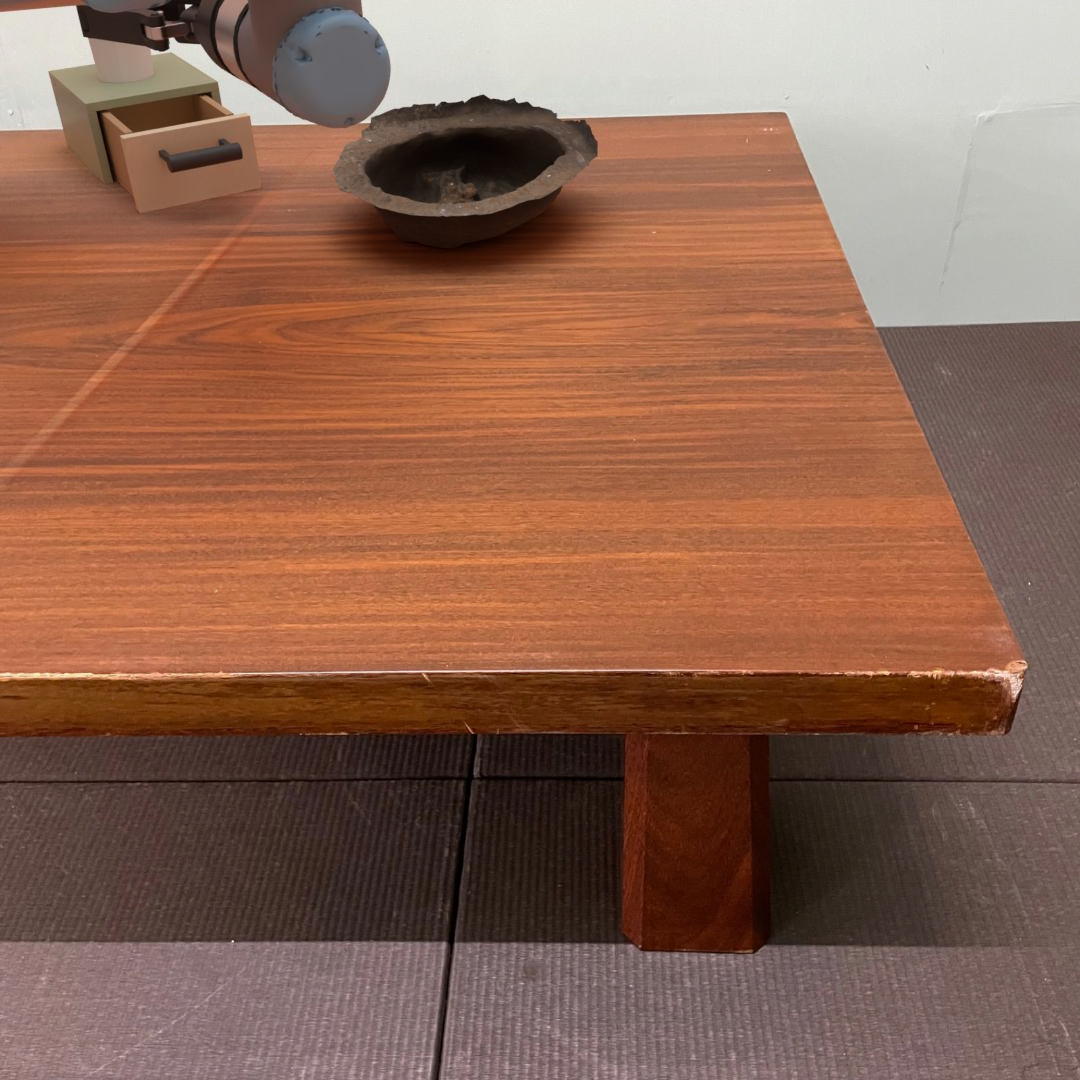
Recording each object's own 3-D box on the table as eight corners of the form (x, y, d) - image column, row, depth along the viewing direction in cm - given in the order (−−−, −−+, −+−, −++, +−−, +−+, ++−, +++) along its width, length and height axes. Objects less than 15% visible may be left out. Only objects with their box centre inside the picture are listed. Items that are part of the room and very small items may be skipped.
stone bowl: (549, 166, 127) (550, 79, 121) (626, 268, 108) (633, 172, 102) (321, 189, 121) (311, 99, 115) (362, 301, 103) (353, 201, 97)
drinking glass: (98, 70, 127) (74, -31, 121) (160, 66, 128) (140, -34, 122) (91, 86, 122) (66, -19, 116) (156, 81, 123) (135, -23, 117)
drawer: (279, 206, 117) (267, 126, 112) (155, 233, 111) (137, 150, 107) (215, 157, 130) (201, 83, 125) (102, 179, 125) (83, 103, 120)
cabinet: (234, 174, 128) (217, 81, 122) (108, 199, 122) (85, 103, 117) (188, 138, 139) (171, 52, 133) (71, 160, 133) (48, 71, 128)
